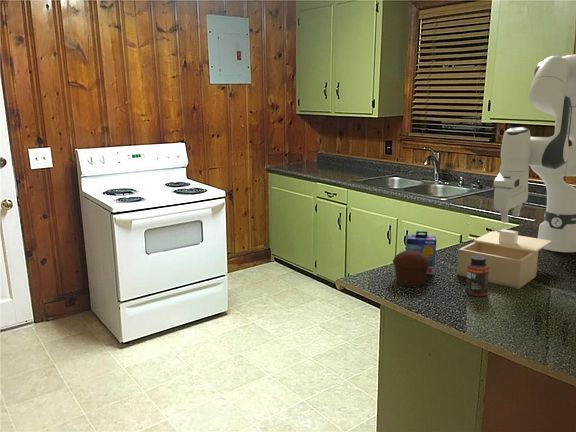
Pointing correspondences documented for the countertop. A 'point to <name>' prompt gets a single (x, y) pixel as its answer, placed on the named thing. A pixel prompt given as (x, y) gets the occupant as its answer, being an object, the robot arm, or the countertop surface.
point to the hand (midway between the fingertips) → (510, 219)
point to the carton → (500, 263)
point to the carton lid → (513, 240)
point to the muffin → (411, 268)
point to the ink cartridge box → (423, 247)
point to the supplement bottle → (477, 276)
